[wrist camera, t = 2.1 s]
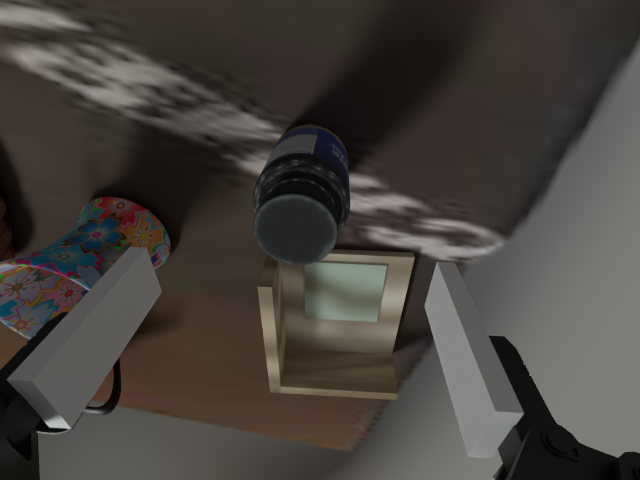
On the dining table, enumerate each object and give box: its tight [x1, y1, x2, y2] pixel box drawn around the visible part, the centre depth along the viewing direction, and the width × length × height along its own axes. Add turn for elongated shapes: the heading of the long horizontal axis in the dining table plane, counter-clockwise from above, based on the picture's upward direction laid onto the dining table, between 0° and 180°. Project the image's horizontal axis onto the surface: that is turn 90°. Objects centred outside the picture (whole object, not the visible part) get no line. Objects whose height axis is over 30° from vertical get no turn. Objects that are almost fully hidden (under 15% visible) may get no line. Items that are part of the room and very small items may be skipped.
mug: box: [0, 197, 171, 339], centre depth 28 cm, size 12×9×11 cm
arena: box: [258, 249, 415, 400], centre depth 34 cm, size 16×14×6 cm
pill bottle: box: [253, 123, 350, 265], centre depth 22 cm, size 6×6×11 cm
